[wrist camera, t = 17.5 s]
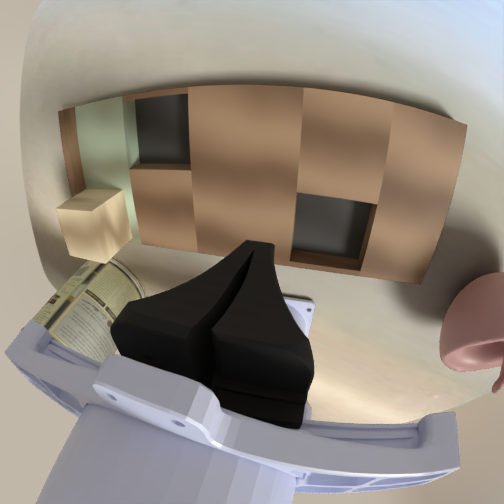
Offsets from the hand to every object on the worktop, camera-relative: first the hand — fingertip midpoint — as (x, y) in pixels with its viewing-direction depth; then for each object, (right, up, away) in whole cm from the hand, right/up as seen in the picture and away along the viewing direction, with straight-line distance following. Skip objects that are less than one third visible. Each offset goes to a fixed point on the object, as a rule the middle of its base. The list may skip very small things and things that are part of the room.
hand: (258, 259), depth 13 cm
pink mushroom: (+24, -4, +9) cm, 26 cm away
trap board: (-1, +7, +9) cm, 11 cm away
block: (-14, +4, +11) cm, 19 cm away
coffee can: (-18, -4, +21) cm, 28 cm away
